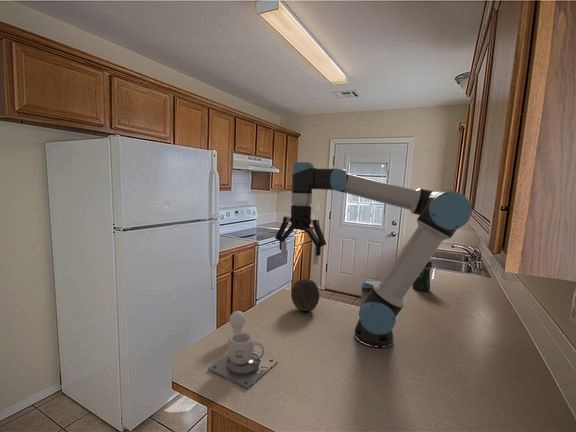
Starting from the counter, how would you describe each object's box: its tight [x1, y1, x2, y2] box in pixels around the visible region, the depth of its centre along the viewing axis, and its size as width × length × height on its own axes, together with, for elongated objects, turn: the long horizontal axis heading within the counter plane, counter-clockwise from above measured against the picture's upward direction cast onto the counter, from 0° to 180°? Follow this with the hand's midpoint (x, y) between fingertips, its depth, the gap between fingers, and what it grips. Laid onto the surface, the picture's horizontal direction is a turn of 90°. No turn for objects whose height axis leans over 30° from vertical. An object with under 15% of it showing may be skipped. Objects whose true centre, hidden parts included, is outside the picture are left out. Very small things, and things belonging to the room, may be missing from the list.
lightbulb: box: [229, 310, 247, 334], centre depth 113 cm, size 6×6×11 cm
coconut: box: [290, 278, 320, 312], centre depth 141 cm, size 14×14×15 cm
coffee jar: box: [411, 260, 433, 292], centre depth 179 cm, size 10×8×19 cm
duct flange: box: [207, 353, 273, 390], centre depth 96 cm, size 16×16×2 cm
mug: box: [227, 331, 265, 365], centre depth 96 cm, size 12×8×8 cm
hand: (298, 261), depth 111 cm, fingers open, 13 cm apart
